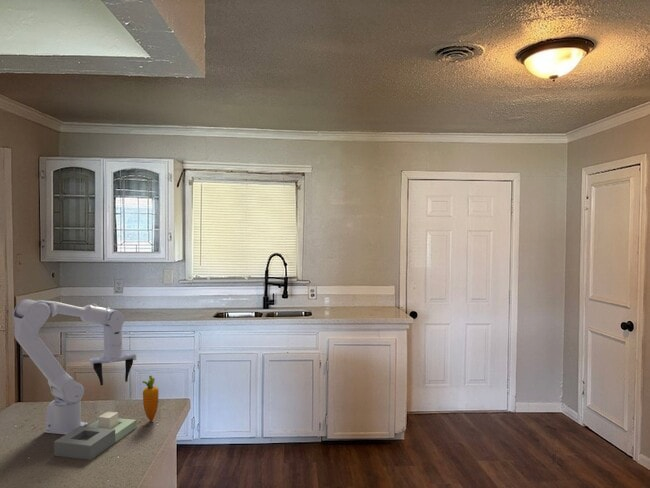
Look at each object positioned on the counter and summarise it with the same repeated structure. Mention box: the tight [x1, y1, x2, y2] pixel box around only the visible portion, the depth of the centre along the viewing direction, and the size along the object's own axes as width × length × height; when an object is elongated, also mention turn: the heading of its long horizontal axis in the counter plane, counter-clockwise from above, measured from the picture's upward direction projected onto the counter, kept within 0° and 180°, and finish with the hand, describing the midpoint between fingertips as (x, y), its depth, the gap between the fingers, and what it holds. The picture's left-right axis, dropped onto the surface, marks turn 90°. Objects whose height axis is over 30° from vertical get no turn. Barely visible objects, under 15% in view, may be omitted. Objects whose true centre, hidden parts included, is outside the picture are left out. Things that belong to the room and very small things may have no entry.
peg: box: [97, 410, 120, 429], centre depth 136 cm, size 4×4×6 cm
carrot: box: [142, 375, 159, 422], centre depth 144 cm, size 5×5×15 cm
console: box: [53, 417, 137, 461], centre depth 132 cm, size 20×12×4 cm, turn 168°
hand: (114, 382), depth 152 cm, fingers open, 7 cm apart
